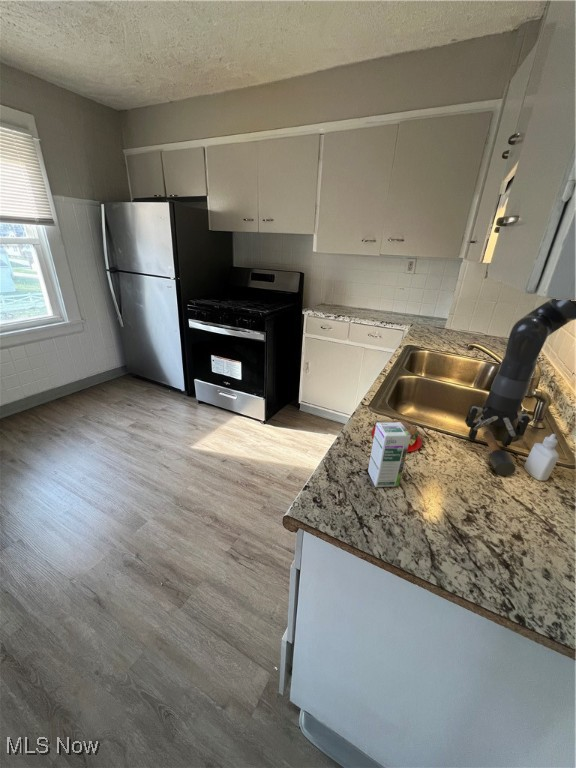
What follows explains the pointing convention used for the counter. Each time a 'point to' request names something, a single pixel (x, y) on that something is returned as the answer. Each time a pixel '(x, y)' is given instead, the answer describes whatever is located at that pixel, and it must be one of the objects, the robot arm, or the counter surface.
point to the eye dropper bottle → (542, 458)
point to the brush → (499, 457)
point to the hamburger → (414, 439)
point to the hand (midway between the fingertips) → (487, 442)
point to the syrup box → (388, 454)
